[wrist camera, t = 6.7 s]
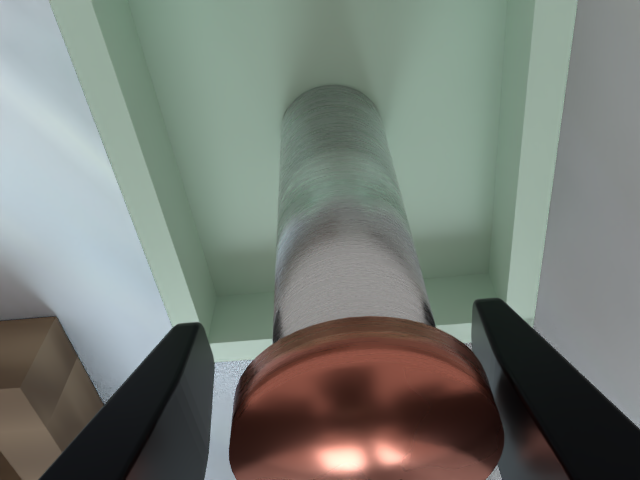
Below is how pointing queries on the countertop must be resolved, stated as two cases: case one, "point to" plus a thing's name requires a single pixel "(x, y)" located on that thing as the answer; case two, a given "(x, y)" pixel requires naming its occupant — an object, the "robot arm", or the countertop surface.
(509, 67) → the tray
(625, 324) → the countertop surface
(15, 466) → the block
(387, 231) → the lock pin
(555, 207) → the countertop surface
